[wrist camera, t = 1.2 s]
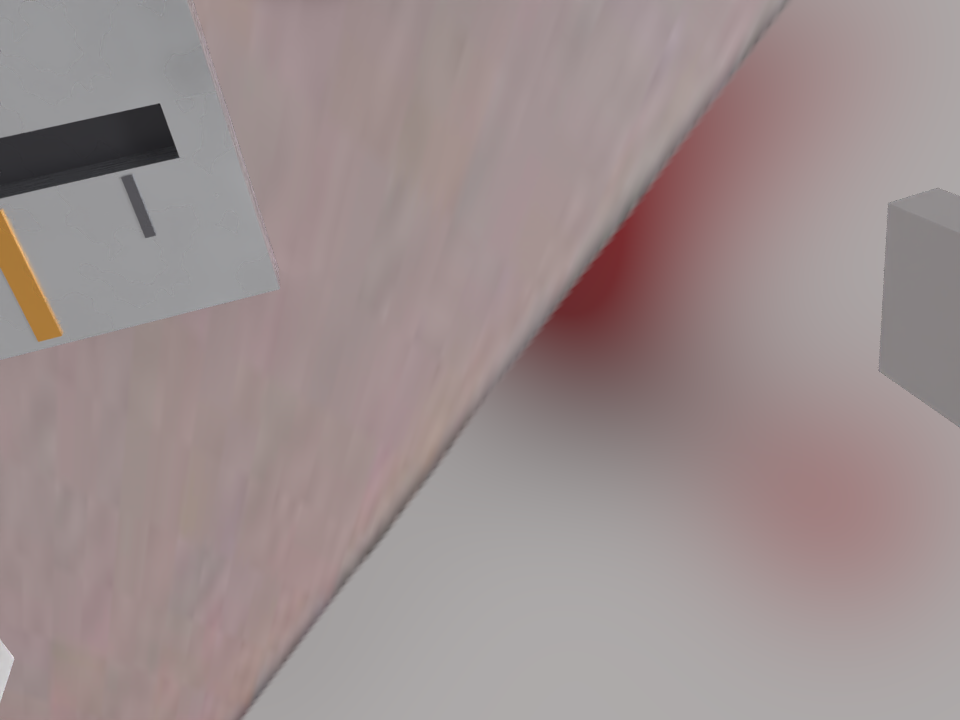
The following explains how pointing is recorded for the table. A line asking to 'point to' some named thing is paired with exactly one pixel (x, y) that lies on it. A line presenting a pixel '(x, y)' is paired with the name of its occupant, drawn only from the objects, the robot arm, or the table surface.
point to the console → (117, 173)
